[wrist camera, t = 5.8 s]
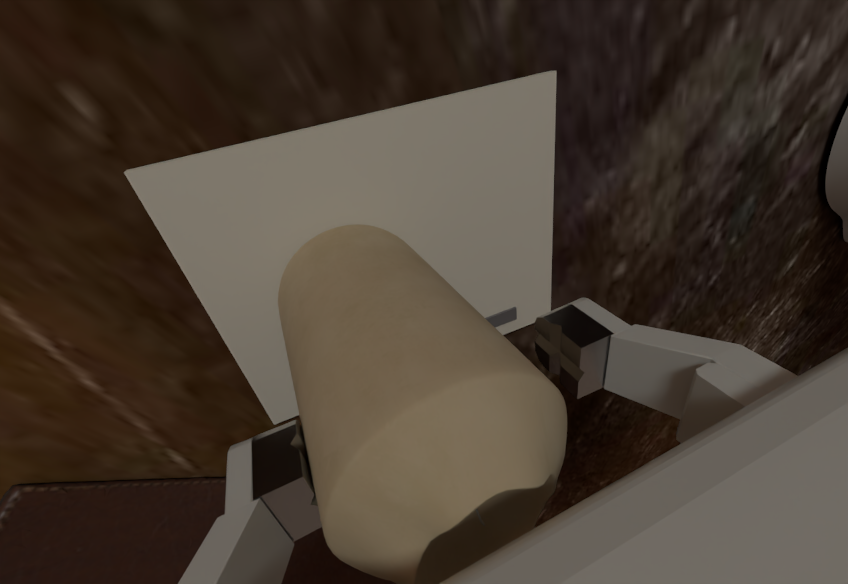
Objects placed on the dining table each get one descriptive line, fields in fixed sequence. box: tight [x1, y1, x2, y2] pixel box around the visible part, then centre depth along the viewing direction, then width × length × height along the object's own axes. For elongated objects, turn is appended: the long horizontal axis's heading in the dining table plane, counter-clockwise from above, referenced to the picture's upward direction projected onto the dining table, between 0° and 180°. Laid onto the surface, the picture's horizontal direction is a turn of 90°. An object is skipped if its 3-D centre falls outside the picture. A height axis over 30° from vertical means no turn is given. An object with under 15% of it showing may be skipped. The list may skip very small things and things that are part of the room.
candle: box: [278, 225, 567, 584], centre depth 11 cm, size 6×6×10 cm
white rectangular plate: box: [124, 71, 556, 425], centre depth 15 cm, size 14×11×1 cm
